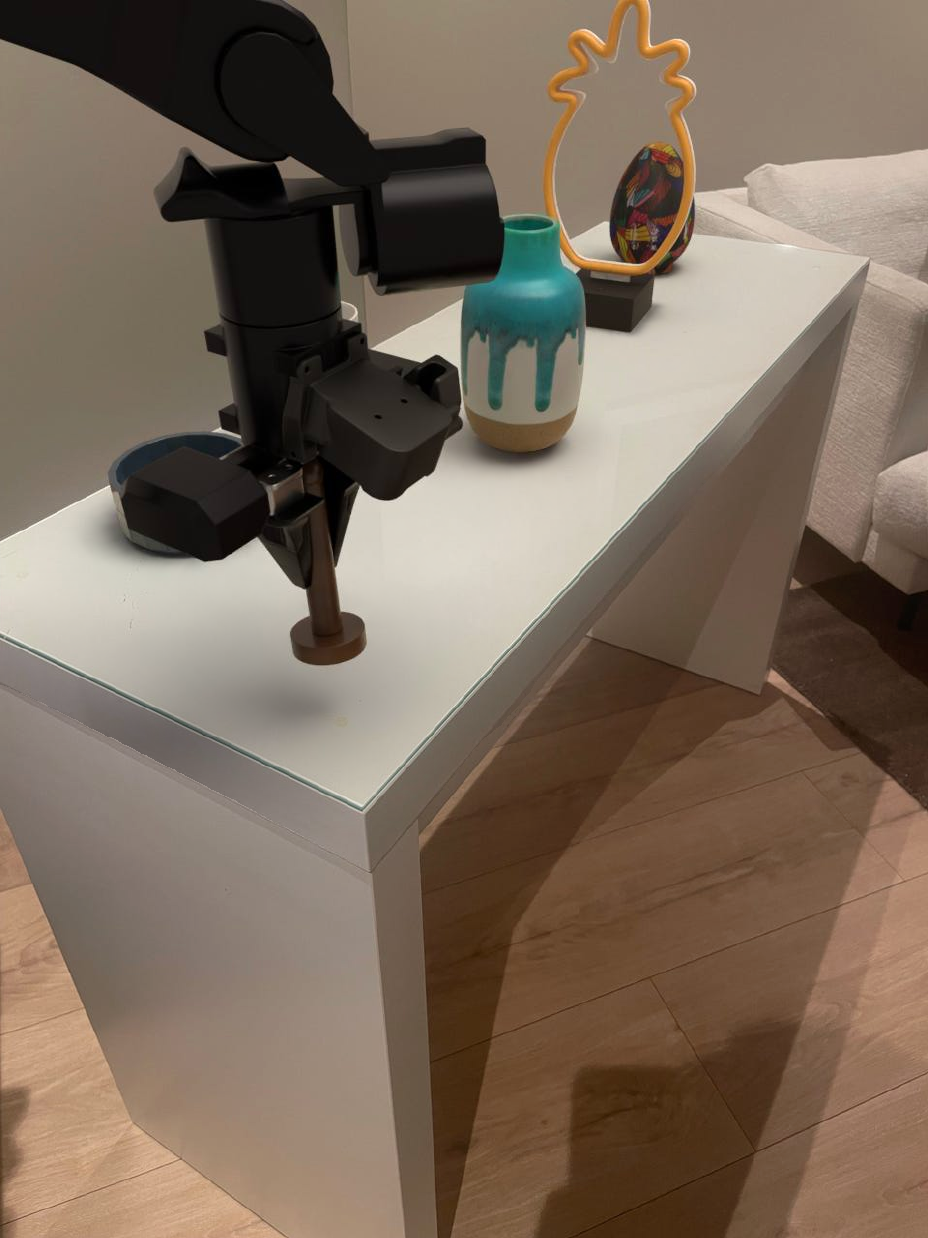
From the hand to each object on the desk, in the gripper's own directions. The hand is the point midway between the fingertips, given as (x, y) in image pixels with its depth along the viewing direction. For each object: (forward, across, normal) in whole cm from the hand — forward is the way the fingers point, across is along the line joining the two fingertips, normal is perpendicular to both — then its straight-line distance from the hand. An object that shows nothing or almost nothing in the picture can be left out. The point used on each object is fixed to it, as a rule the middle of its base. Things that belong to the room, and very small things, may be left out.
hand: (314, 576), depth 54 cm
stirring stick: (+4, 0, -1) cm, 4 cm away
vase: (+9, +36, +8) cm, 38 cm away
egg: (+9, +87, +18) cm, 89 cm away
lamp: (+9, +69, +16) cm, 71 cm away
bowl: (+9, +10, +23) cm, 26 cm away
